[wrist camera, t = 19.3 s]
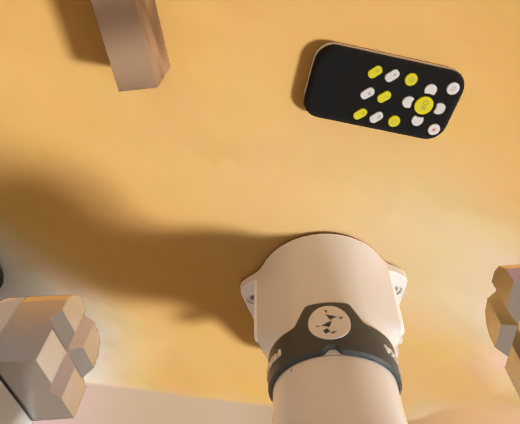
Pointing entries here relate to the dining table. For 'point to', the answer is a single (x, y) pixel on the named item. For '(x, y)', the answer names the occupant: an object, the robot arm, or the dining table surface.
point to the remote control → (381, 90)
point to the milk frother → (1, 278)
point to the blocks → (133, 42)
